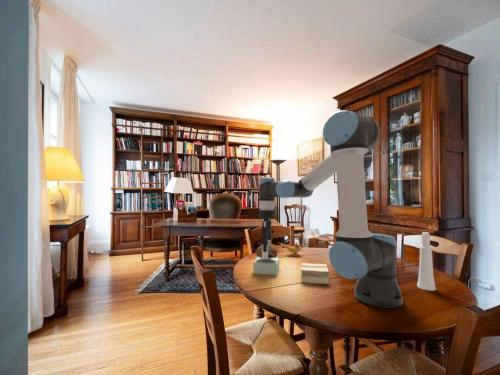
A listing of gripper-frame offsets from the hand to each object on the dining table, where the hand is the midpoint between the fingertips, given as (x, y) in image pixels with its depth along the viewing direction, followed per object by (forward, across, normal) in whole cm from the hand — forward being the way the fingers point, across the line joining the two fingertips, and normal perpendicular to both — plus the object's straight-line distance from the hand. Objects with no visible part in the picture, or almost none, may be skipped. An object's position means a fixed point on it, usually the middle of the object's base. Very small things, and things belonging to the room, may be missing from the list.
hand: (266, 255), depth 117 cm
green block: (+7, 0, 0) cm, 7 cm away
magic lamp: (+7, +34, -11) cm, 36 cm away
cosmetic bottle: (+8, -7, -65) cm, 66 cm away
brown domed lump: (+1, 0, 0) cm, 1 cm away
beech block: (+7, -6, -22) cm, 24 cm away
